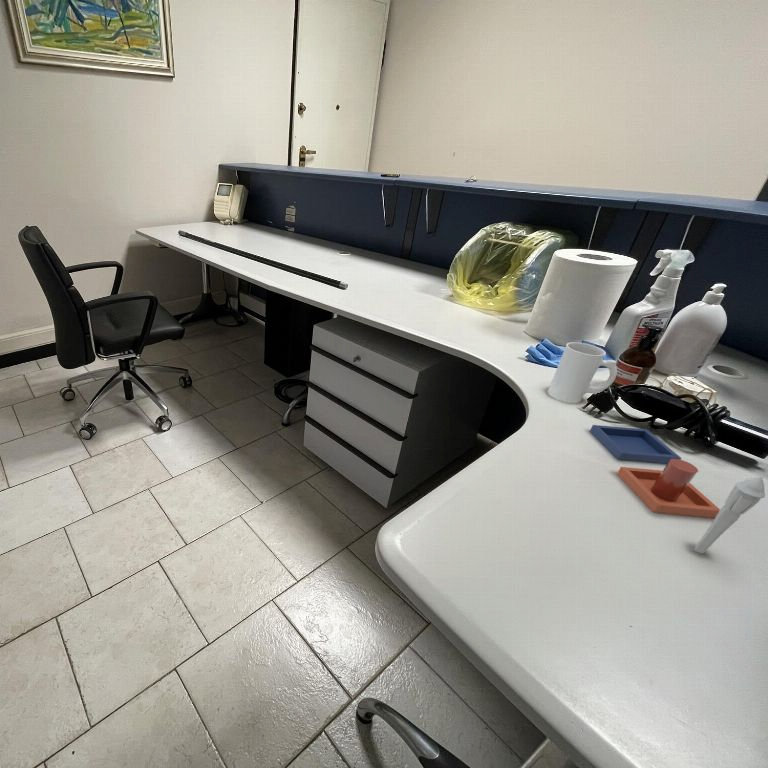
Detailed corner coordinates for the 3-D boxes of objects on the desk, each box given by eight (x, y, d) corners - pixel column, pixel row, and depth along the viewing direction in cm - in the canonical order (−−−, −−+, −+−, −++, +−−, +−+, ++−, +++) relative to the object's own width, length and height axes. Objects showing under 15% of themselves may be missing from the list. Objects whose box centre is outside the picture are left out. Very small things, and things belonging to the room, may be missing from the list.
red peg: (666, 488, 66) (687, 459, 63) (682, 502, 63) (704, 473, 60) (645, 486, 66) (664, 457, 63) (659, 500, 63) (680, 471, 60)
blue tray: (641, 437, 79) (646, 429, 78) (675, 467, 71) (681, 458, 70) (588, 433, 80) (592, 424, 78) (616, 462, 72) (621, 453, 71)
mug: (543, 397, 91) (564, 348, 85) (548, 386, 96) (568, 339, 90) (598, 414, 85) (625, 363, 79) (601, 401, 90) (626, 352, 84)
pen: (710, 553, 56) (776, 476, 49) (708, 565, 54) (777, 487, 47) (685, 542, 57) (746, 466, 50) (683, 553, 56) (746, 476, 49)
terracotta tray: (670, 481, 68) (677, 471, 67) (714, 521, 61) (722, 511, 60) (615, 476, 69) (621, 466, 68) (651, 514, 62) (658, 505, 61)
